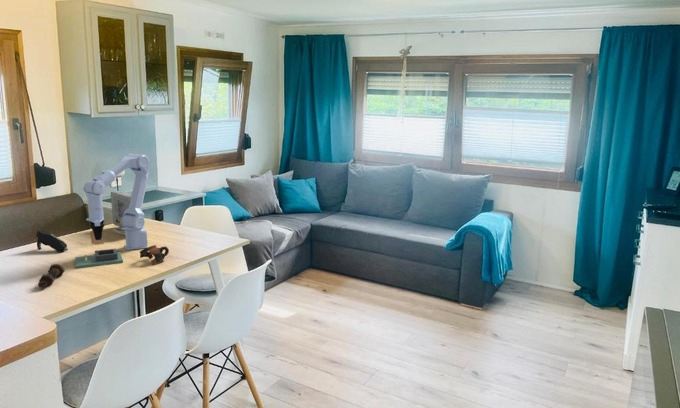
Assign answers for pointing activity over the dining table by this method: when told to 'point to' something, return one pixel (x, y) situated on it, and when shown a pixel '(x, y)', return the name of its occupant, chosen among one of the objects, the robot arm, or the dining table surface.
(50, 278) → the bolt
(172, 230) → the dining table surface
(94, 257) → the header board
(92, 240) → the plug
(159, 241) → the dining table surface
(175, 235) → the dining table surface
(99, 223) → the robot arm
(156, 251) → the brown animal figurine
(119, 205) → the network device
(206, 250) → the dining table surface
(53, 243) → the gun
